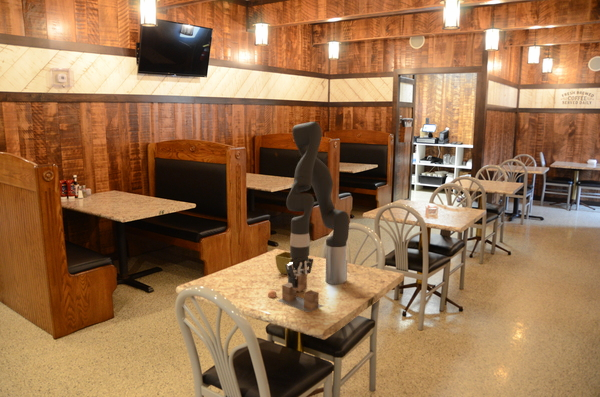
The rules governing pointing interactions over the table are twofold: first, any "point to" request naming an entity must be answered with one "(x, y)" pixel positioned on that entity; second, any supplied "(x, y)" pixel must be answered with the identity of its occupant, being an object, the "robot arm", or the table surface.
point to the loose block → (301, 282)
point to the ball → (272, 294)
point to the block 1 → (288, 292)
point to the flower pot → (283, 261)
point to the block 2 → (311, 300)
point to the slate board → (298, 304)
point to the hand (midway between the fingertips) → (299, 285)
